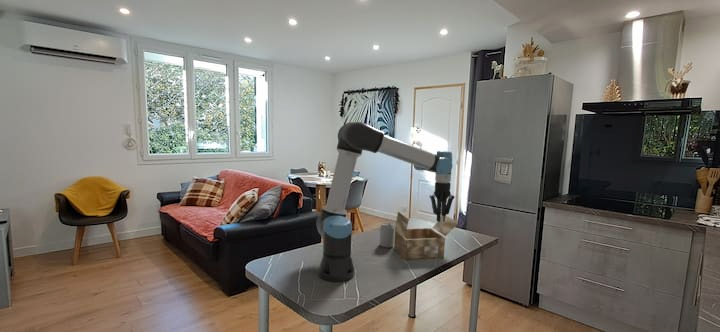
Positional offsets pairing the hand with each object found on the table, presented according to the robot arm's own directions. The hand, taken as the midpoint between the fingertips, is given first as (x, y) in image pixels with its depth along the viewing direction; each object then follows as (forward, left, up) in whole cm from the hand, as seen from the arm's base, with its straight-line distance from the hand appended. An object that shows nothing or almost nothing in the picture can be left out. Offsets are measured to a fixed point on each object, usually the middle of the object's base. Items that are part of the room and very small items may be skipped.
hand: (440, 227), depth 162 cm
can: (-24, +12, -13) cm, 30 cm away
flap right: (+2, 0, +1) cm, 3 cm away
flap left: (-21, 0, +2) cm, 21 cm away
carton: (-11, 0, -13) cm, 17 cm away
